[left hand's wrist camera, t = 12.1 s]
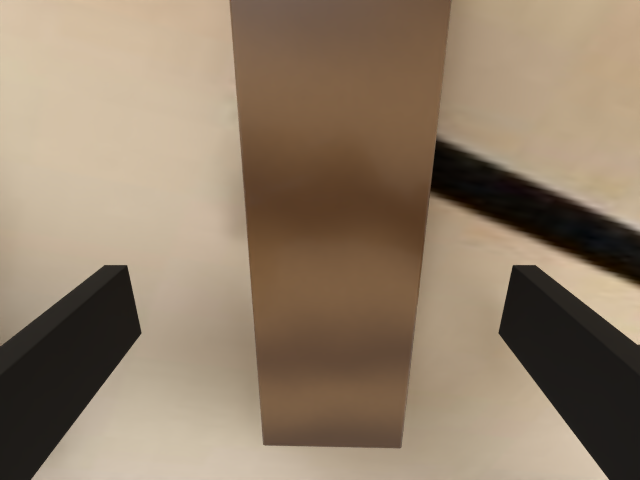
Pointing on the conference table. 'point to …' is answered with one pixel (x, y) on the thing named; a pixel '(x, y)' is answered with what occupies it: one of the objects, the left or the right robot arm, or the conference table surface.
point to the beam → (336, 206)
